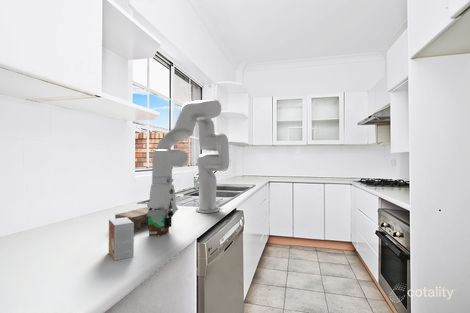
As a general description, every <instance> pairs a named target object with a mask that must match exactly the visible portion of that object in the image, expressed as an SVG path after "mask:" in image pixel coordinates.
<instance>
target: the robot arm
mask: <svg viewBox="0 0 470 313" xmlns="http://www.w3.org/2000/svg"><path fill="white" fill-rule="evenodd" d="M221 113H222V104H221V103H220V101H219V100H218V99H207V100H205V99H204V100H194V101H191V102H189V101H188V102H186V103H184V104H183V105H182V106H181V108H180V111H179V114H178V116H177V119H176V122H175V124H174V127H173V128H172V129H170V130H169V131H168V132H167V133H165V135H163V137H161V138H160V140H159V141H158V143H157V146H156V149H154V150H153V152H152V155H151V156H152V158H151V160H152V163H151V167H152V168H151V171H152V172H151V173H152V174H151V175H152V176H151V177H152V178H151V184H150V191H149V202H148V203H147V204H146V207H147V208H148V209H149V210H155V209H157V210H162V209H164V210H165V211H166V218H165V228H169V229H170V228H171V227H172V217H173V216H174V215H175V214H176V212H177V211H178V210H179V208H178V207H177V205H176V202H177V201H176V192H175V191H176V190H175V186H174V184H173V182H174V178H173V168H182V167H185V166H186V165H187V164H188V160H189V158H188V154H187V152H186V151H184V150H182V149H171V148H172V147H173V146H174V145H176V144H179V143H180V142H182V141H184V140H186V139H188V138H190V137H191V136H192V135H193V132H194V130H195V126H196V123H197V126H198V142H199V148H200V150H202V151H205V153H201V154H200V155H199V156H198V157H197V160H196V164H197V169H198V207H196V208H195V212H197V213H201V214H214V213H217V212H219V211H220V209H219V207H217V206H219V205H220V201H218V200H217V177H216V174H215V173H214V172H225V171H227V170H228V169H229V165H230V151H229V150H230V147H229V146H230V145H229V138H228V136H227V135H226V134H225V133H221V132H220V133H219V132H218V133H216V132H215V124H214V121H213V120H212V119H214V118H217V117H219V115H221ZM206 152H209V153H206ZM210 152H214V153H210ZM215 152H216V153H215ZM217 152H218V153H217ZM168 211H170V213H169V214H168Z"/></svg>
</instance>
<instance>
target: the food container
mask: <svg viewBox="0 0 470 313" xmlns="http://www.w3.org/2000/svg"><path fill="white" fill-rule="evenodd" d="M169 213H170V211H168V214H169ZM147 216H148V223H149V224H148V234H149V237H158V235H159V236H163V234H164V235H167V234H168V233H169V231H170V227H169V228H165V218H166V211H165V210H164V209H162V210H157V209H155V210H148V212H147Z"/></svg>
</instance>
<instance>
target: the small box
mask: <svg viewBox="0 0 470 313" xmlns="http://www.w3.org/2000/svg"><path fill="white" fill-rule="evenodd" d="M134 233H135V232H134V223H133V222H132V221H131V220H130V219H128V217H125V218H117V219H115V218H111V219H110V218H109V219H108V253H109V254H110V257H111V258H112V260H113V261H114V262H115V261H116V262H117V261H119V260H122V259H128V258H131V257H134V249H135V247H134V246H135V245H134V243H135V241H134V240H135V239H134V237H135V234H134Z"/></svg>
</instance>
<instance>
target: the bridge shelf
mask: <svg viewBox="0 0 470 313" xmlns="http://www.w3.org/2000/svg"><path fill="white" fill-rule="evenodd" d="M148 210H149V209H148V207H147V206H144V207H141V208H138V209H137V208H136V209H133V210H129V211H125V212H124V211H123V212H120V213H115V215H114V216H115V217H114V219H117V218H125V217H128V219H130V220H131V221H132V222H133V223H134V233H135V232H138V231H141V223H142V224H147V225H149V223H148V216H147V212H148Z"/></svg>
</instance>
